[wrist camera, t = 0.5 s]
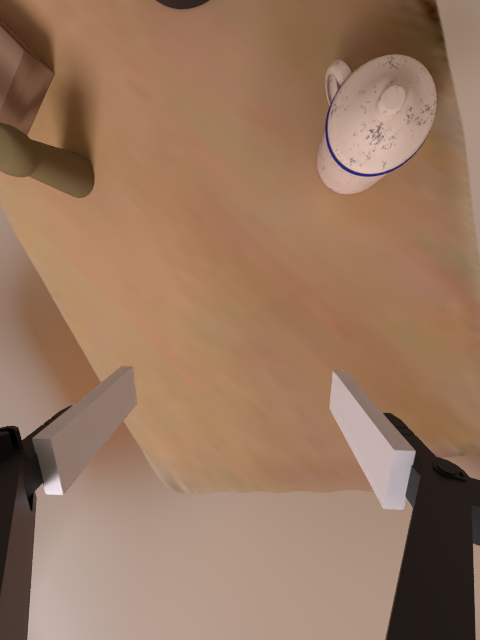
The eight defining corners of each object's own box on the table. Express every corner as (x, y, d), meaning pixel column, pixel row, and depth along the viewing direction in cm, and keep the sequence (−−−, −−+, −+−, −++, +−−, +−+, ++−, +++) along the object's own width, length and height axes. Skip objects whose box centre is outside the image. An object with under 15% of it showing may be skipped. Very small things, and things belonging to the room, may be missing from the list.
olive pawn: (76, 206, 37) (-5, 187, 27) (52, 170, 37) (-40, 136, 26) (101, 182, 36) (26, 152, 25) (77, 144, 35) (-11, 97, 24)
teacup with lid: (406, 164, 29) (483, 107, 18) (336, 212, 31) (366, 188, 20) (357, 70, 27) (408, -57, 16) (288, 128, 30) (291, 54, 19)
